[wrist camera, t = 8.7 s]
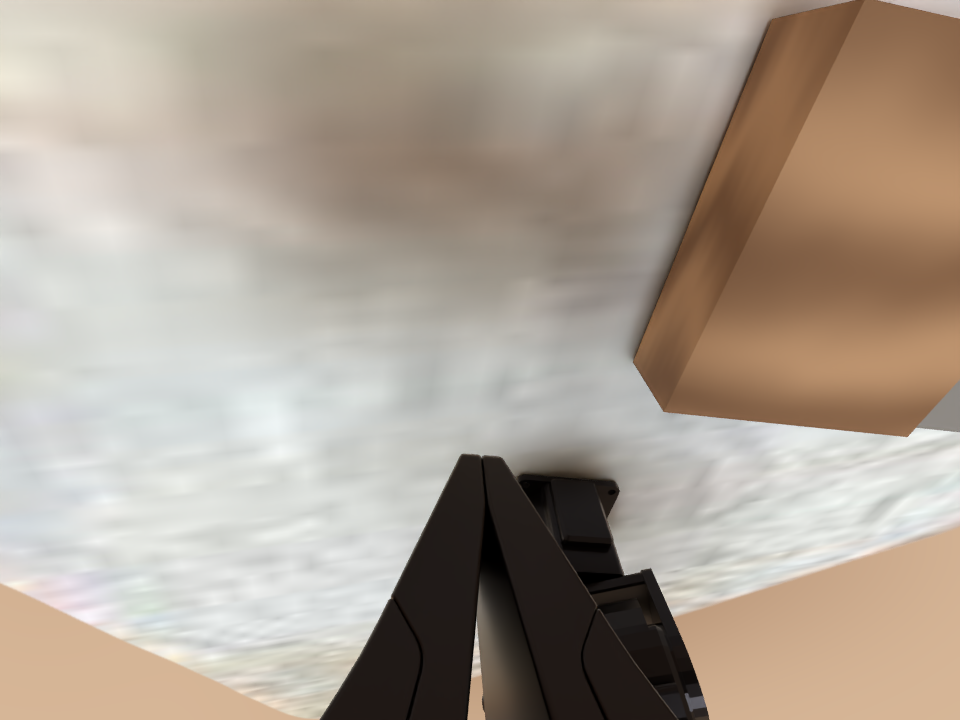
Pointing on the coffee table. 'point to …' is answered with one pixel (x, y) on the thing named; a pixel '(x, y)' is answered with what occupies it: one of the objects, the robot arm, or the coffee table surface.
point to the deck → (825, 234)
